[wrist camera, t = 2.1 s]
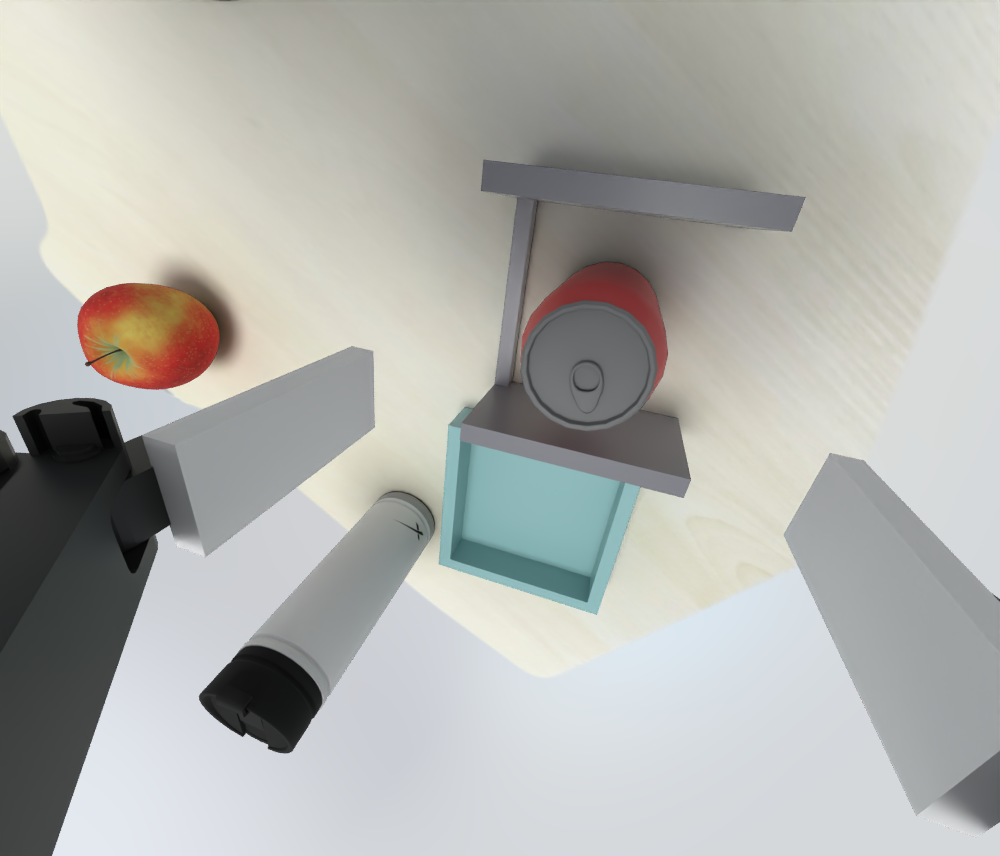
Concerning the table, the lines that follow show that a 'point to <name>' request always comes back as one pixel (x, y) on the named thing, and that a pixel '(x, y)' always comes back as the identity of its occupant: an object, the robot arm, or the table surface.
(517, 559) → the tray
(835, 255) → the table surface
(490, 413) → the bay
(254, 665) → the travel mug
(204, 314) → the apple
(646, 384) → the beer can
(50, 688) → the robot arm
